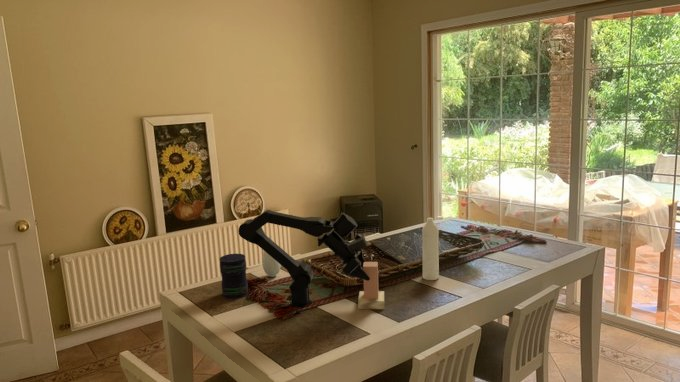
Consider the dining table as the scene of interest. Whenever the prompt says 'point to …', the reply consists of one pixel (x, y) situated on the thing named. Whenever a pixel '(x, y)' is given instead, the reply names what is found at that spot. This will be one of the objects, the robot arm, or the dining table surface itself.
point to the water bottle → (430, 250)
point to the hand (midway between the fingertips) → (369, 275)
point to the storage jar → (233, 276)
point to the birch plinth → (371, 301)
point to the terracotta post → (371, 280)
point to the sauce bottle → (270, 265)
